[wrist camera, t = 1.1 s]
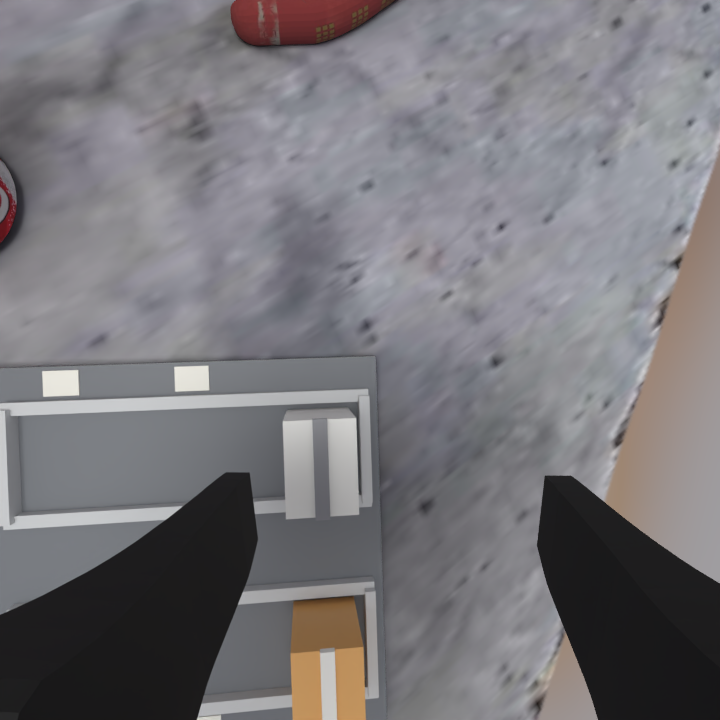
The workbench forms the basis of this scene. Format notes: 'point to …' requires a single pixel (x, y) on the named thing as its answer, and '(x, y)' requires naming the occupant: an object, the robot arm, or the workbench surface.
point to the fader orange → (327, 661)
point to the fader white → (320, 463)
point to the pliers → (299, 19)
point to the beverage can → (6, 201)
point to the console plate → (180, 485)
